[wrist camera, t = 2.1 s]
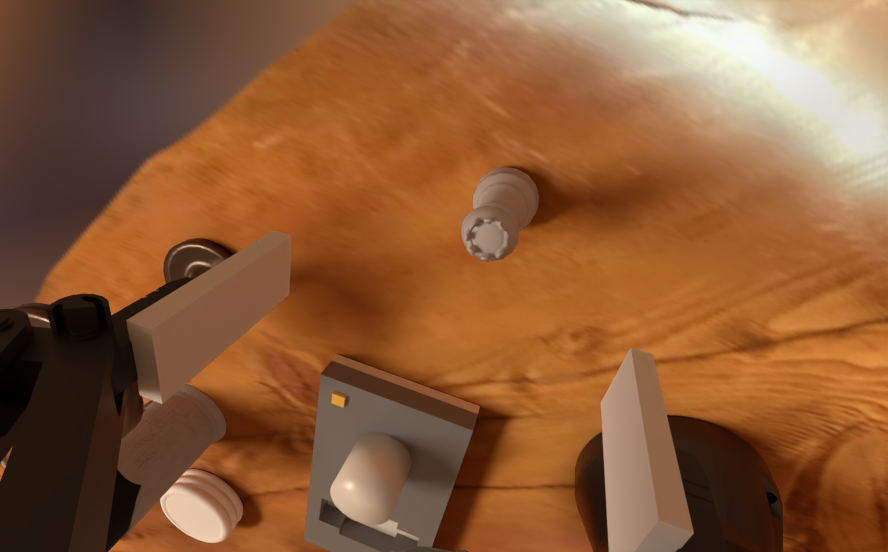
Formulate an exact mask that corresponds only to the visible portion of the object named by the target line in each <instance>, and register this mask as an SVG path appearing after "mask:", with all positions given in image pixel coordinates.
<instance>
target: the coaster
mask: <svg viewBox="0 0 888 552" xmlns="http://www.w3.org/2000/svg"><path fill="white" fill-rule="evenodd" d="M160 501H161V506H162V509H163V511H164V513H165V515H166V516H167V517H168V519H169V520H170V521H171V522H172V523H173V524H174V525H175V526H176V527H177V528H179V529H180V530H181V531H183V532H184V533H186V534H187V535H189V536H191V537H193V538H195V539H198V540H200V541H204V542H209V543H216V542H221V541H223V540H225V539H226V538H227V537H228V536H229V535H230V533H231V531H232V530H233V529H234V528H235V526H236V524H237V523H238V522H239V521H240V520H241V518H242V515H243V505H242V502H241V500H240V498H239V496H238V495H237V493H236V492H235V491H234V490H233V489H232V488H231V487H230V486H229V485H228V484H227V483H226V482H225V481H223V480H222V479H220V478H219V477H217V476H215V475H213V474H211V473H209V472H206V471H203V470H199V469H187V470H186V472H185V473H184V474H183V475H182V476H181V477H180V478H179V479H178V480H177V481H176V482H175V483H174V484H173V485H172V487H171V488H170V489H169V490H168V491H167V492H166V493H165V494H164V495H163V496H162V497H161V498H160Z"/></svg>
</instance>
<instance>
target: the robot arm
mask: <svg viewBox="0 0 888 552" xmlns="http://www.w3.org/2000/svg"><path fill="white" fill-rule="evenodd" d="M291 247H292V236H291V235H288V234H285V233H281V232H278V231H275V230H274V231H272V232H270V233H269V234H267V235H265V236H264V237H262V238H260V239H259V240H257V241H256V242H254V243H252V244H251V245H249V246H247V247H246V248H244V249H242V250H241V251H239V252H237V253H236V254H234V255H233V256H231V257H229V258H228V259H226V260H224V261H223V262H221V263H219V264H218V265H216V266H215V267H213V268H211V269H210V270H208V271H206V272H205V273H203V274H201V275H200V276H198V277H197V278H195V279H192V278H189V277H184V278H181V279H177V280H174V281H171V282H168V283H167V284H165V285H163V286H162V287H160V288H158V289H156V291H153V292H151V293H150V294H148V295H146V296H145V298H141V299H139V300H137V301H136V302H134V303H132V304H131V305H129V306H127V307H125V308H124V309H122V310H120V311H119V312H117V313H115V314H113V315H112V316H111V312H110V307H109V302H108V300H107V299H105V298H104V297H103V296H99V295H95V294H78V295H71V296H68V297H65V298H61V299H59V300H57V301H55V302H54V303H52V304H50V306H49V307H48V308H47V309H46V313H47V316H48V320H49V323H50V327H51V328H44V327H34V326H31V323H30V320H29V317H28V314H26V313H24V312H23V311H20V310H14V309H0V463H1V462H2V460H3V459H4V457H5V456H6V455H7V453H8V452H9V450H10V449H11V448H12V446H13V448H12V451H11V453H10V456H9V459H8V462H7V464H6V467H5V470H4V473H3V476H2V478H1V481H0V552H105V549H106V542H107V535H108V528H109V521H110V514H111V508H112V501H113V494H114V487H115V480H116V473H117V466H118V459H119V452H120V445H121V439H122V432H123V425H124V418H125V411H126V404H127V392H126V389H127V388H128V387H129V386H131V385H132V384H133V383H135V382H136V381H137V383H138V388H139V394H140V395H141V396H143V397H146V398H148V399H151V400H153V401H156V402H158V403H161V404H163V403H164V402H166V401H167V400H168V399H169V398H170V397H171V396H173V395H174V394H175V393H176V392H177V391H178V390H179V389H181V388H182V387H183V386H184V385H185V384H186V383H188V382H189V381H190V380H191V379H192V378H193V377H195V376H196V375H197V374H198V373H199V372H200V371H202V370H203V369H204V368H205V367H206V366H207V365H208V364H210V363H211V362H212V361H213V360H214V359H215V358H217V357H218V356H219V355H220V354H221V353H222V352H224V351H225V350H226V349H227V348H228V347H229V346H230V345H232V344H233V343H234V342H235V341H236V340H237V339H239V338H240V337H241V336H242V335H243V334H244V333H246V332H247V331H248V330H249V329H250V328H251V327H252V326H254V325H255V324H256V323H257V322H258V321H259V320H261V319H262V318H263V317H264V316H265V315H266V314H268V313H269V312H270V311H271V310H272V309H273V308H275V307H276V306H277V305H278V304H279V303H280V302H281V301H283V300H284V299H285V298H286V297H287V296H288V295H289V292H290V269H291ZM601 417H602V432H601V433H599V434H598V435H597V436H595V437H594V438H593V439H592V440H591V441H589V443H588V444H587V445H586V446H585V447H584V448H583V450H582V452H581V453H580V455H579V457H578V460H577V463H576V468H575V498H576V503H577V507H578V510H579V513H580V515H581V518H582V521H583V524H584V527H585V530H586V533H587V535H588V538H589V541H590V544H591V546H592V549H593V552H783V510H782V503H781V498H780V495H779V492H778V489H777V487H776V485H775V482H774V480H773V478H772V476H771V473H770V471H769V469H768V467H767V465H766V463H765V462H764V460H763V459H762V457H761V456H760V455H759V454H758V453H757V451H756V450H755V449H753V448H752V447H751V446H750V445H749V444H748V443H746V442H745V441H744V440H742V439H741V438H739V437H738V436H736V435H734V434H733V433H731V432H729V431H727V430H725V429H722V428H720V427H718V426H715V425H712V424H709V423H706V422H702V421H698V420H693V419H688V418H681V417H667V414H666V410H665V405H664V401H663V397H662V392H661V388H660V384H659V379H658V375H657V371H656V366H655V362H654V358H653V355H652V354H649V353H646V352H643V351H640V350H637V349H634V348H630V350H629V352H628V353H627V355H626V357H625V359H624V361H623V363H622V365H621V366H620V368H619V370H618V372H617V374H616V376H615V377H614V379H613V381H612V383H611V385H610V387H609V389H608V390H607V392H606V394H605V396H604V398H603V400H602V401H601ZM402 552H455V551H449V550H443V549H437V548H431V547H425V546H414V547H410V548H408V549H405V550H403V551H402ZM457 552H468V551H466V550H459V551H457Z"/></svg>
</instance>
